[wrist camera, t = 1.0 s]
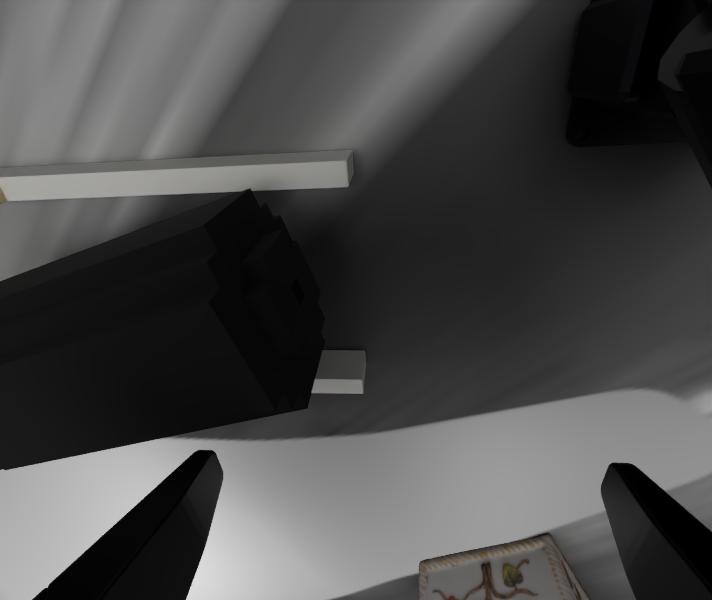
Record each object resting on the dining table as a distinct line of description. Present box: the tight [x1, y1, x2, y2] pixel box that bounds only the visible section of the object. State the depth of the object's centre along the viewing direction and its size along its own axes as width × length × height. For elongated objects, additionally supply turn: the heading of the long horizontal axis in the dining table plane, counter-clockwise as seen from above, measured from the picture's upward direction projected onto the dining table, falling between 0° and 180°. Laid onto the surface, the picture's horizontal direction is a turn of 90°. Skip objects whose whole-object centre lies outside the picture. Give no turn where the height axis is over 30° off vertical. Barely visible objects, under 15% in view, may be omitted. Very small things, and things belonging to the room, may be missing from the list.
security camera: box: [0, 188, 325, 470], centre depth 17 cm, size 7×18×10 cm, turn 110°
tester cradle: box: [0, 150, 366, 394], centre depth 19 cm, size 24×12×5 cm, turn 93°
